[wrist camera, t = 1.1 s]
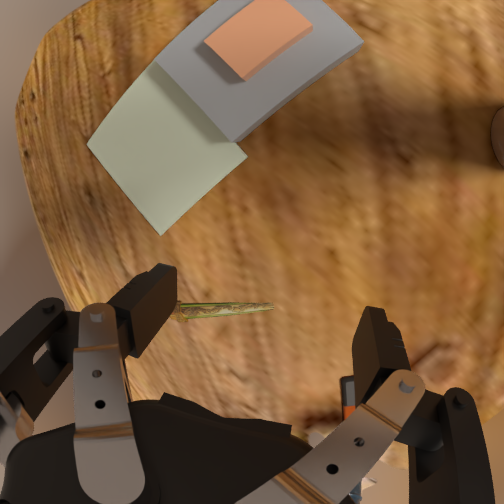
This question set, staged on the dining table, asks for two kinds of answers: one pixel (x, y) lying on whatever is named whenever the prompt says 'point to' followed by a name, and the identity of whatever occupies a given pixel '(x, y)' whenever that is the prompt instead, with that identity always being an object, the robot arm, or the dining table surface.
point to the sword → (215, 310)
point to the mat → (162, 148)
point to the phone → (348, 395)
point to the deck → (265, 80)
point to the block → (258, 35)
